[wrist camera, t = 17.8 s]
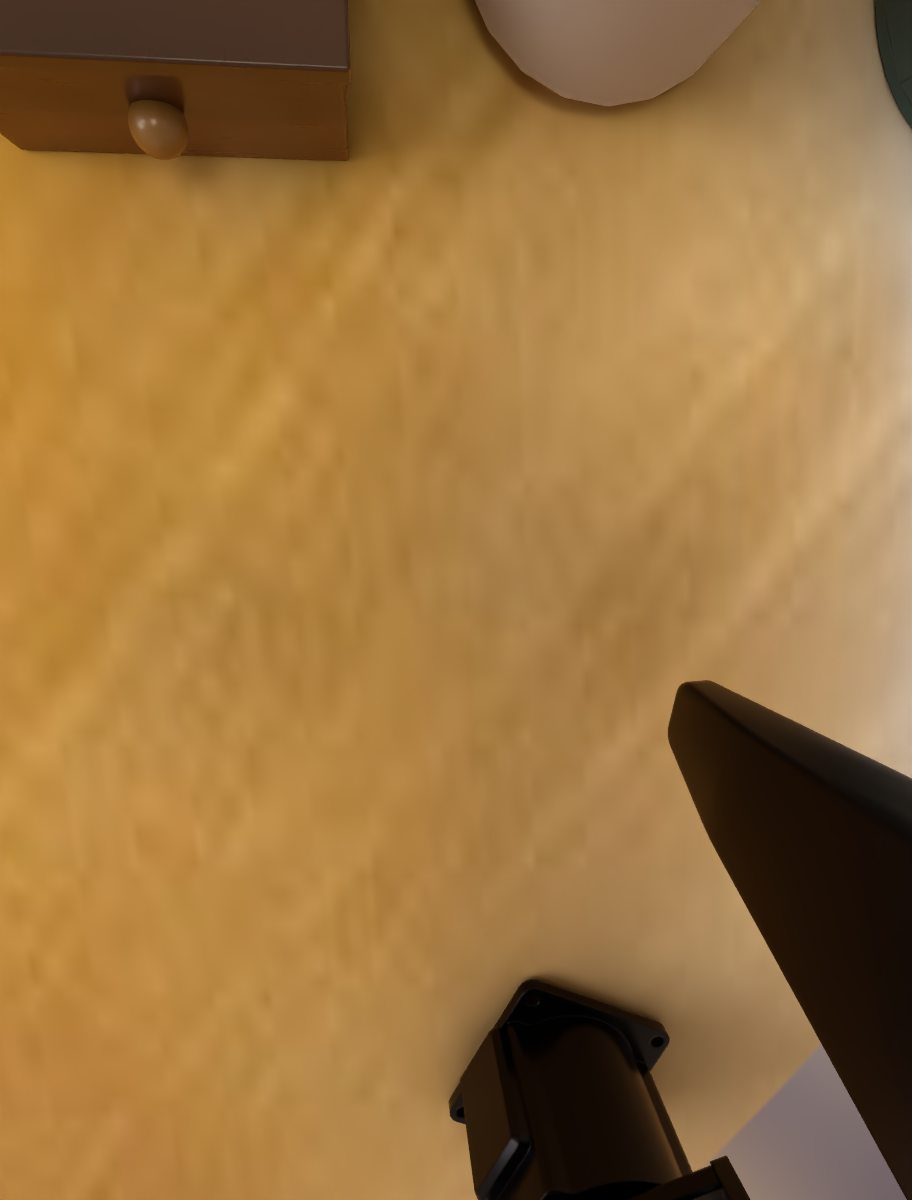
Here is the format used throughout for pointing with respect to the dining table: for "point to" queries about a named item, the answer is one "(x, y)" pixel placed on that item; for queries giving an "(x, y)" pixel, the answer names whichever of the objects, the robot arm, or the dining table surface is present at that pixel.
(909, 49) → the pot
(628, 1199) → the robot arm
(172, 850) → the dining table surface
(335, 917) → the dining table surface
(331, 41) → the walnut box
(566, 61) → the can
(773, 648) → the dining table surface
